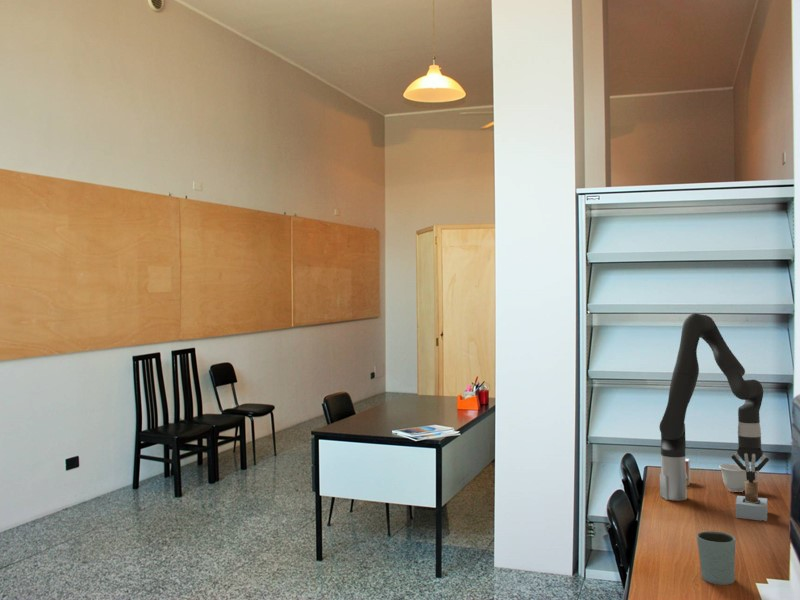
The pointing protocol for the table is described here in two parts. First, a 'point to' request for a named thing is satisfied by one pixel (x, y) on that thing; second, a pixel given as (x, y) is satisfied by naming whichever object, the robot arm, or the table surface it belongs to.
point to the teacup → (734, 477)
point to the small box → (687, 471)
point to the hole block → (751, 509)
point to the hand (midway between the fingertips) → (750, 481)
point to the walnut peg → (751, 492)
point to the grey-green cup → (717, 557)
